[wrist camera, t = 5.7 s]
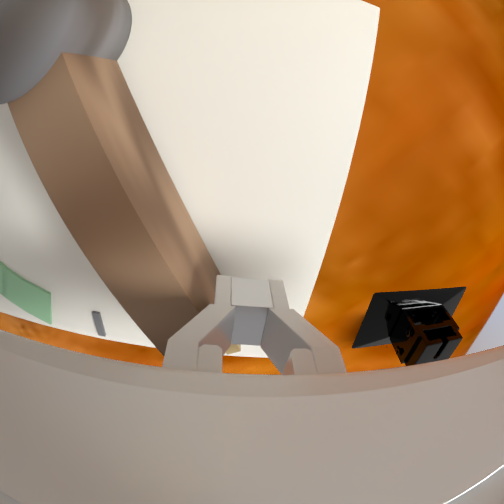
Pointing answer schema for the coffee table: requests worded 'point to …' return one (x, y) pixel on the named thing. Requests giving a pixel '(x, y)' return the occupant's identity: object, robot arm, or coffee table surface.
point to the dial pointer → (103, 159)
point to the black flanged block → (413, 324)
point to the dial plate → (211, 151)
